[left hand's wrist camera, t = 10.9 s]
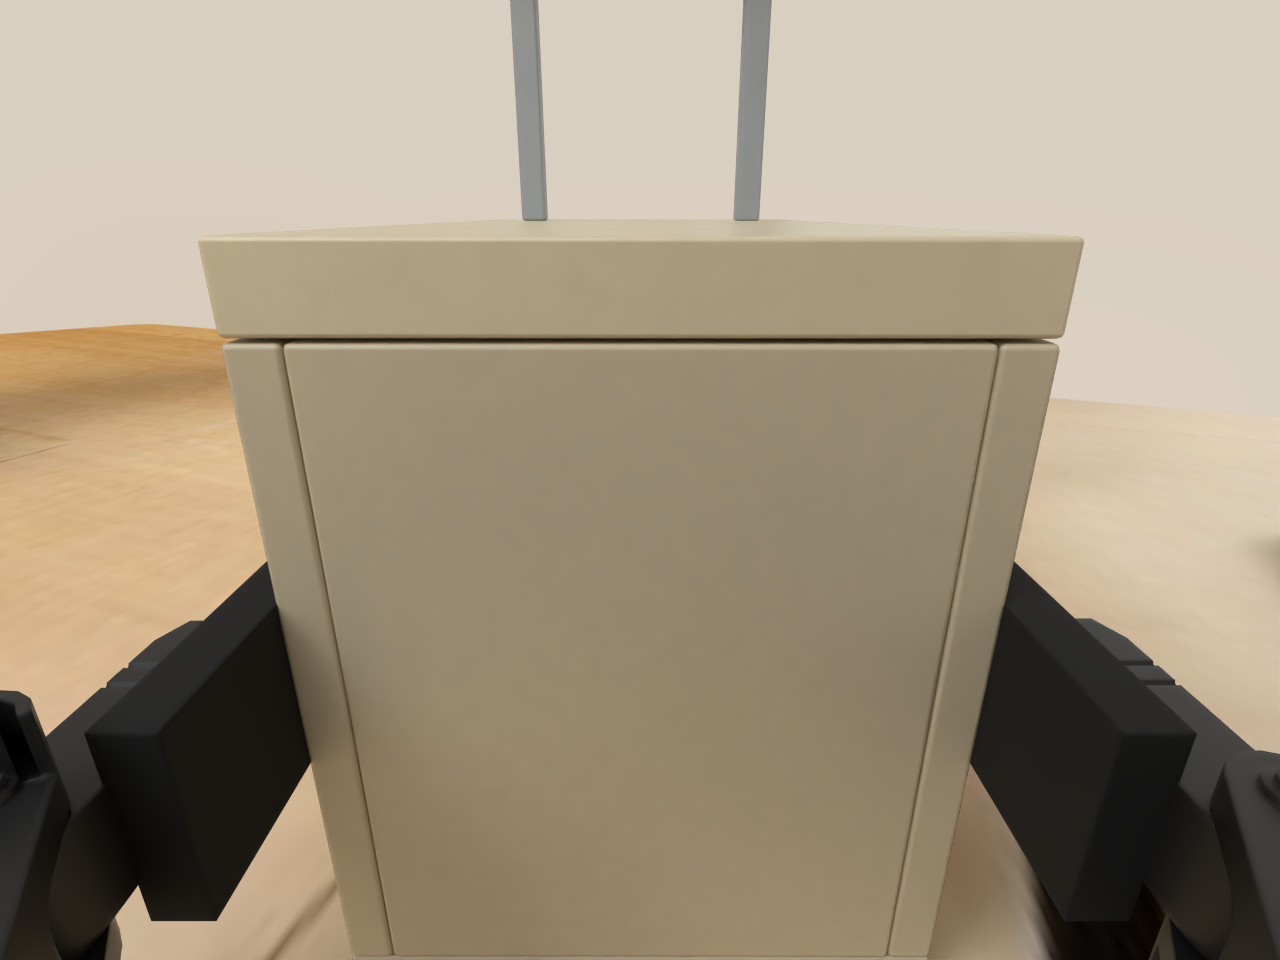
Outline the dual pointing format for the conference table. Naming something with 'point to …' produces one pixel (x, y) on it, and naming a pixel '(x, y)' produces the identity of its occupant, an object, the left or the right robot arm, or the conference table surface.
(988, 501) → the chest
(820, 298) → the lid
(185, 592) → the conference table surface
